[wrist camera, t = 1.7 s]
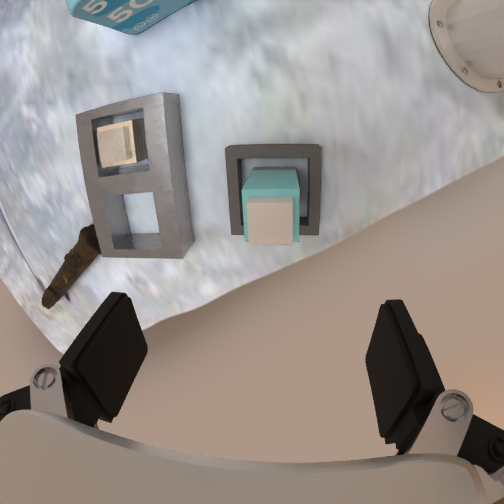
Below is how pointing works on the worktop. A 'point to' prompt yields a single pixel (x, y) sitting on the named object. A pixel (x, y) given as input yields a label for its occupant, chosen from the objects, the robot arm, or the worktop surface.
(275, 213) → the plug
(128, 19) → the data package
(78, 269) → the hand tool
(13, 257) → the worktop surface
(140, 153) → the port
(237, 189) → the dark square frame
